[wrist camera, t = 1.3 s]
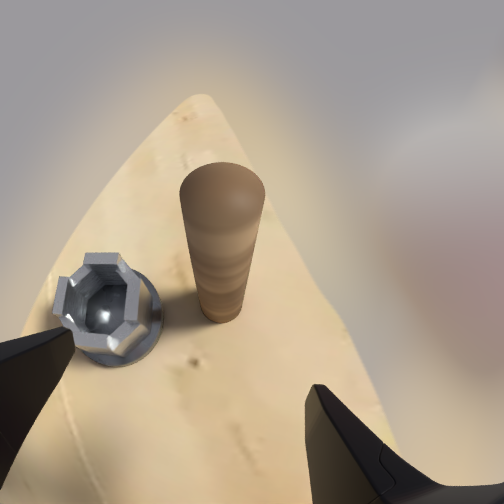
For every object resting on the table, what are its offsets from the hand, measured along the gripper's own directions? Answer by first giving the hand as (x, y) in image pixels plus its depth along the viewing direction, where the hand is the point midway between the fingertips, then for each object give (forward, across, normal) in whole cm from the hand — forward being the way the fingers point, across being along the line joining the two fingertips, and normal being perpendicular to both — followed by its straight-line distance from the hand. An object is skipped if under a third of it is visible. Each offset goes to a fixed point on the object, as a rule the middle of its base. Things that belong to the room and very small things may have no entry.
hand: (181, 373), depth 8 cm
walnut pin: (+14, 0, +4) cm, 15 cm away
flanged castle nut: (+12, +9, +7) cm, 16 cm away
